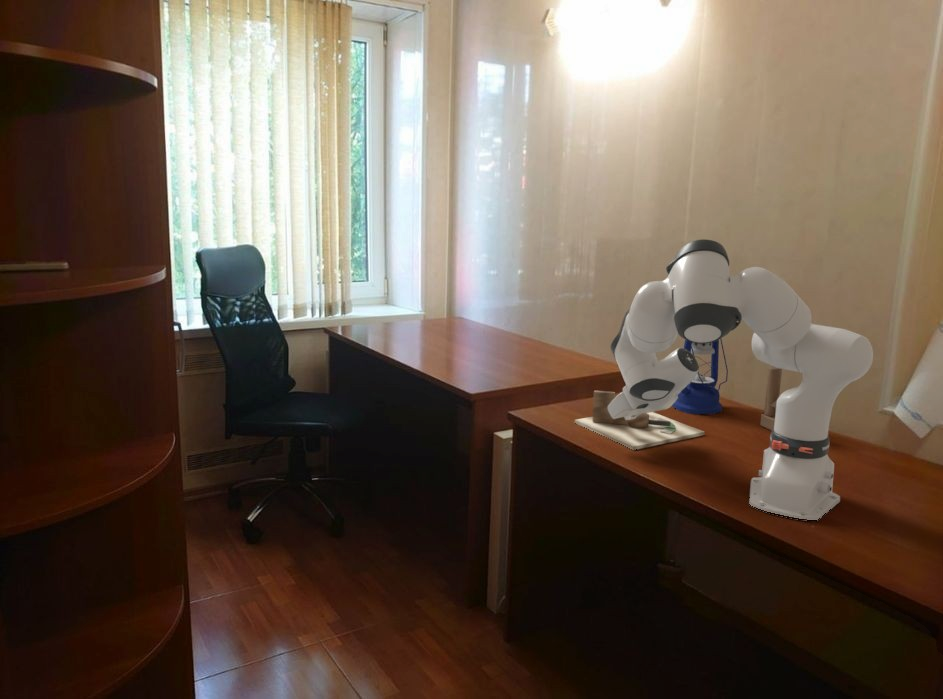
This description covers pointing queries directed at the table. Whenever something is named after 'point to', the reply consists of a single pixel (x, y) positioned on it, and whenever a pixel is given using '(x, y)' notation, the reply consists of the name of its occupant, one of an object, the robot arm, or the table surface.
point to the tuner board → (642, 432)
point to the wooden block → (771, 397)
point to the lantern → (702, 383)
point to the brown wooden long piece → (603, 415)
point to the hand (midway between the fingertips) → (628, 417)
